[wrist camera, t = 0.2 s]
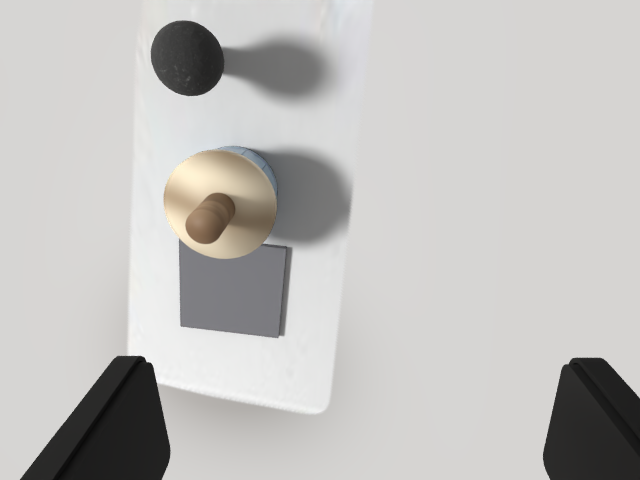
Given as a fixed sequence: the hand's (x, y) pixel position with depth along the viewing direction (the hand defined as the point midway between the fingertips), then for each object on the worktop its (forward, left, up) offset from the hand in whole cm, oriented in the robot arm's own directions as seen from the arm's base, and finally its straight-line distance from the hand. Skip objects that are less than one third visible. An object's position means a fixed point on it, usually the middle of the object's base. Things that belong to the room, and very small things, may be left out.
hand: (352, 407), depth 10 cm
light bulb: (-13, -7, -37) cm, 40 cm away
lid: (-2, -12, -31) cm, 34 cm away
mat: (+8, -20, -37) cm, 42 cm away
